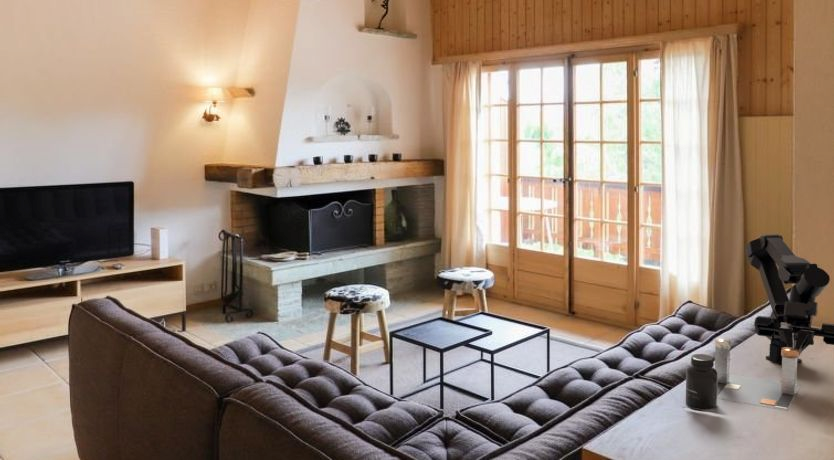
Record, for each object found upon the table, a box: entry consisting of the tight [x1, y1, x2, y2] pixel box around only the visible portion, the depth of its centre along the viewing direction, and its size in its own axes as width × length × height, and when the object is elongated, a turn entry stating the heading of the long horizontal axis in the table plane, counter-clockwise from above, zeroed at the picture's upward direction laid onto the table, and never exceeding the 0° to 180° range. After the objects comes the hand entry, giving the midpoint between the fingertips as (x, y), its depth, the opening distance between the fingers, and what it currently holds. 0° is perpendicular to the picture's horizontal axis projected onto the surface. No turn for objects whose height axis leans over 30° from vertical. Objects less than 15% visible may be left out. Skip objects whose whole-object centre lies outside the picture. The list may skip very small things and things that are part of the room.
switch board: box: [717, 373, 801, 412], centre depth 171 cm, size 18×18×1 cm
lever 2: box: [780, 347, 800, 396], centre depth 167 cm, size 4×4×11 cm
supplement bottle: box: [685, 353, 718, 412], centre depth 164 cm, size 7×7×12 cm
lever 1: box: [714, 337, 732, 384], centre depth 176 cm, size 4×4×11 cm
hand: (792, 360), depth 170 cm, fingers closed
